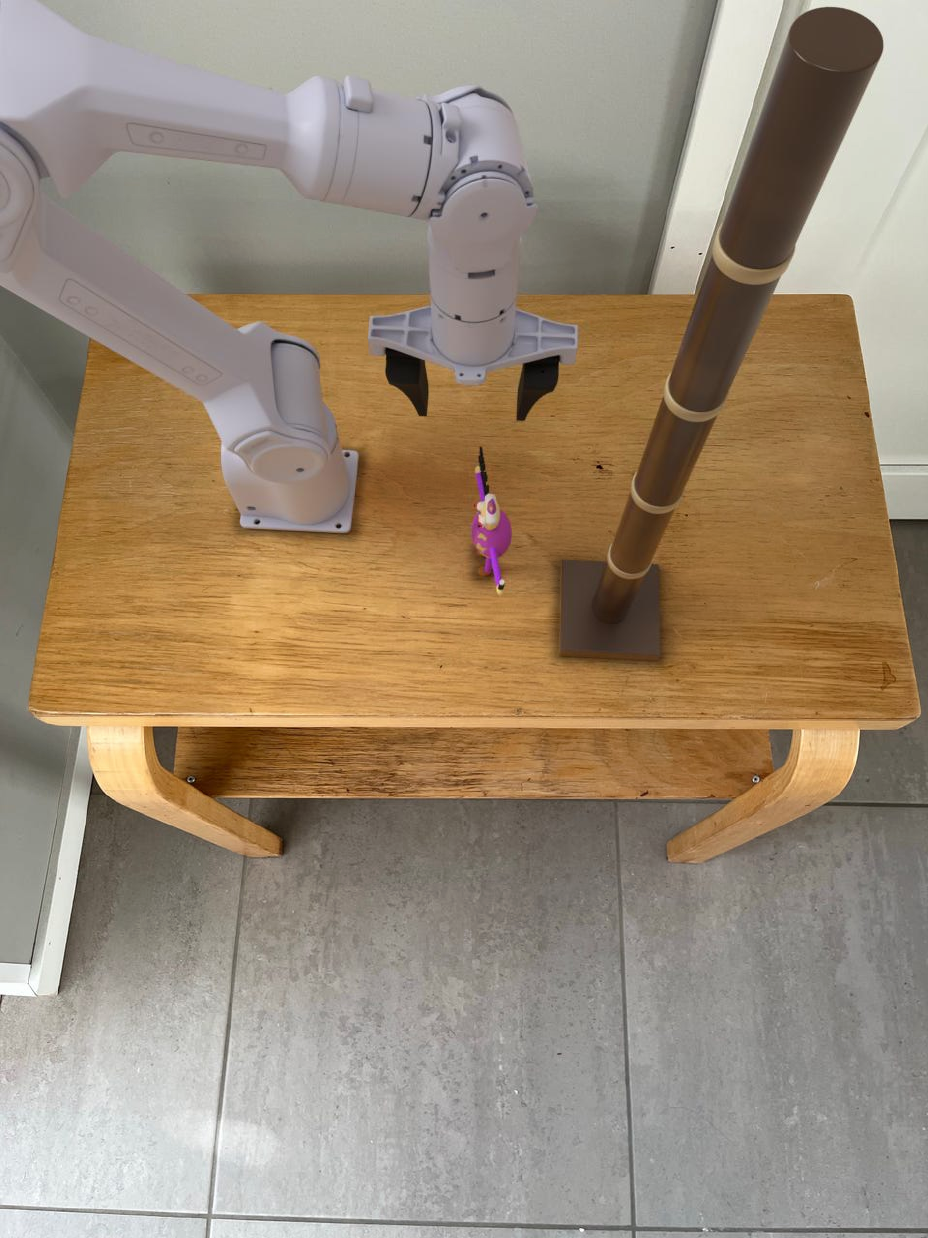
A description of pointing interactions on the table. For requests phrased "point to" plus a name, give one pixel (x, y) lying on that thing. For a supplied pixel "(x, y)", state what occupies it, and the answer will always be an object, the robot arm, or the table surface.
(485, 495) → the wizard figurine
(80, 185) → the robot arm
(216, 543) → the table surface
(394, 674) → the table surface
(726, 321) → the measuring staff
